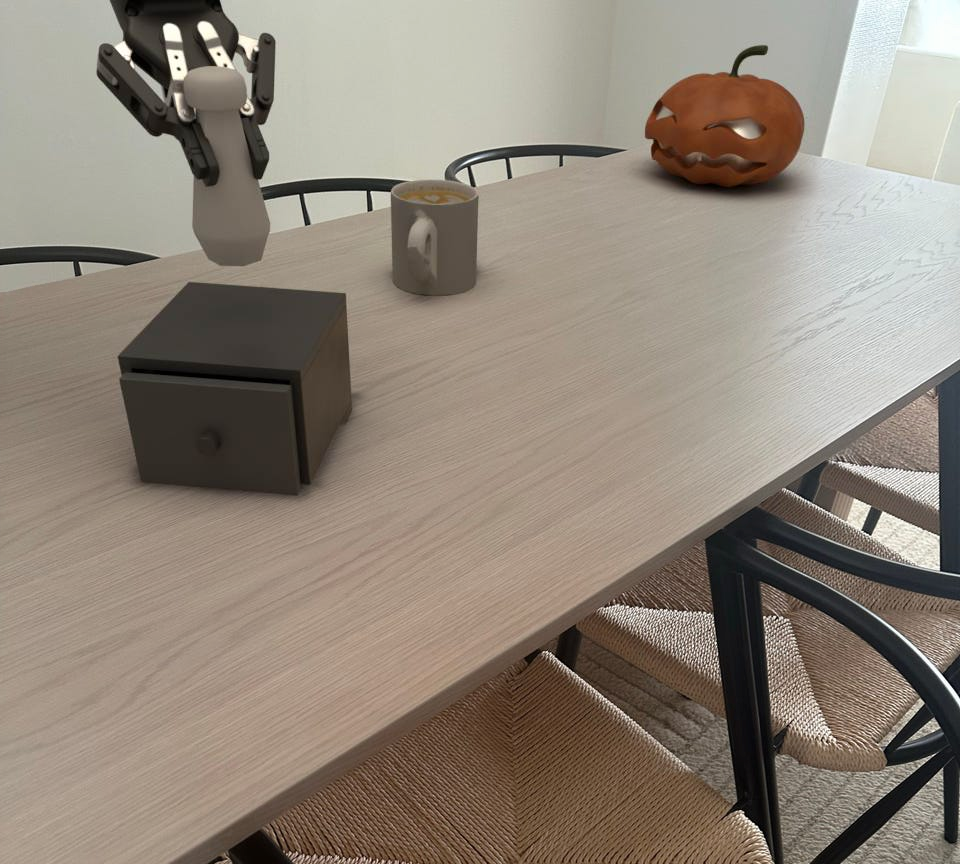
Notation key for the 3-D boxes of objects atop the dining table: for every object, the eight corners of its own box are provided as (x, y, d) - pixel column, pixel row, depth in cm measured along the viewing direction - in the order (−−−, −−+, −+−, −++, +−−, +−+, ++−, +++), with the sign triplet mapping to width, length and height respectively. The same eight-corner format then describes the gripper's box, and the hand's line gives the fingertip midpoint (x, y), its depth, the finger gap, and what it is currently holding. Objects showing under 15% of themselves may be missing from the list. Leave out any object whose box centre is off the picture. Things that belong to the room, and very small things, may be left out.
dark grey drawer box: (311, 497, 79) (300, 370, 72) (143, 483, 80) (117, 355, 73) (352, 409, 91) (345, 292, 84) (206, 397, 92) (188, 281, 85)
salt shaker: (189, 250, 78) (161, 63, 70) (259, 241, 80) (240, 58, 72) (209, 274, 74) (182, 79, 66) (283, 264, 76) (265, 74, 68)
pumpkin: (607, 176, 156) (621, 38, 144) (688, 150, 171) (708, 22, 159) (748, 211, 144) (777, 63, 132) (822, 179, 159) (854, 44, 147)
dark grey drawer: (293, 505, 76) (282, 399, 71) (135, 492, 77) (111, 385, 71) (338, 413, 88) (332, 316, 83) (201, 402, 89) (185, 305, 83)
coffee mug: (416, 260, 123) (415, 174, 116) (489, 274, 120) (492, 187, 113) (362, 295, 113) (358, 203, 107) (440, 311, 110) (441, 218, 104)
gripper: (228, -10, 78) (310, 193, 78) (47, -2, 72) (136, 219, 72) (248, -87, 72) (337, 135, 72) (50, -86, 65) (148, 157, 65)
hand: (235, 176), depth 72 cm, fingers closed on salt shaker, 3 cm apart
